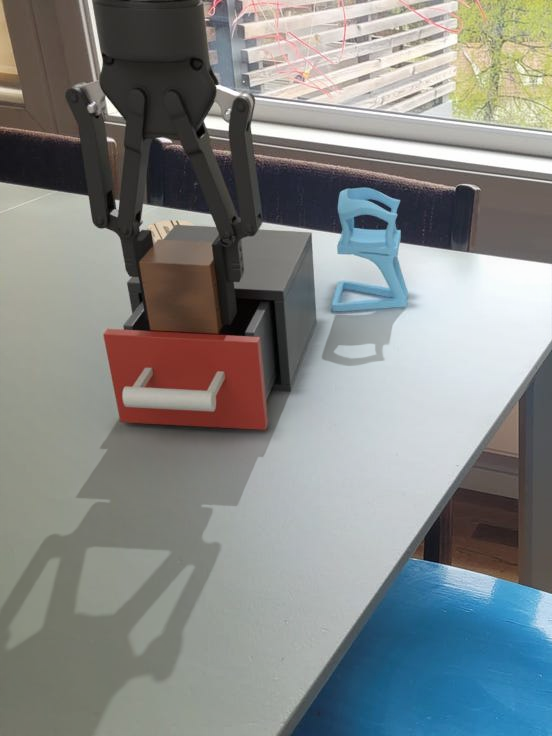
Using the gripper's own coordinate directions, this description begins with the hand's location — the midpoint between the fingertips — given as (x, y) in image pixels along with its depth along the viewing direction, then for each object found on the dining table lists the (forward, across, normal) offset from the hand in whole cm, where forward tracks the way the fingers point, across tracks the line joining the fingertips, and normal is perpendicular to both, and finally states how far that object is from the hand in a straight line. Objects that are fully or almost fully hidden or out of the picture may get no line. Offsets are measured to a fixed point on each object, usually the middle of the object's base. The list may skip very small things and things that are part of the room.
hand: (191, 316), depth 84 cm
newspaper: (+9, -11, +39) cm, 42 cm away
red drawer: (+8, 0, +1) cm, 8 cm away
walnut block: (0, 0, 0) cm, 0 cm away
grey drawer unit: (+9, 0, +14) cm, 17 cm away
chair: (+9, +12, +30) cm, 34 cm away
